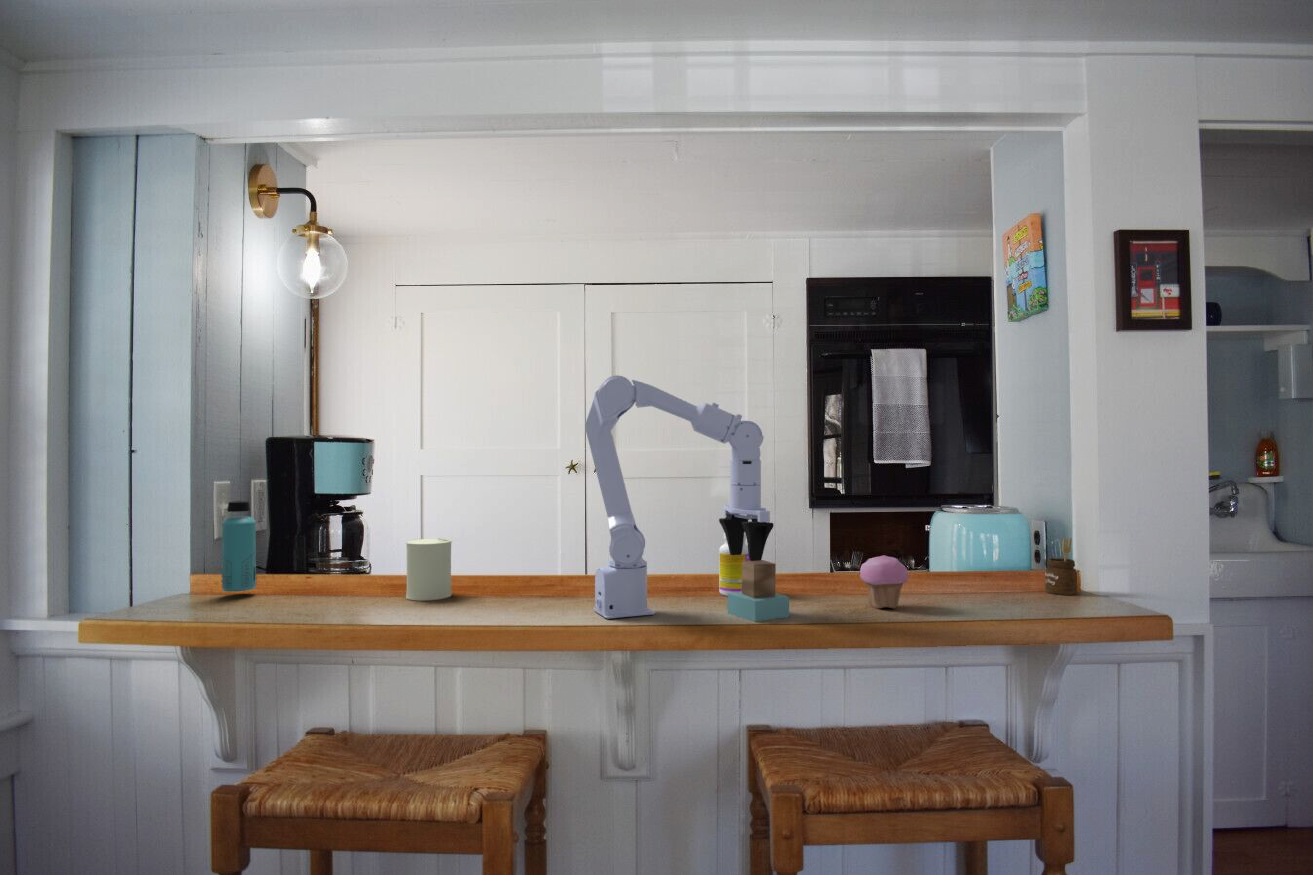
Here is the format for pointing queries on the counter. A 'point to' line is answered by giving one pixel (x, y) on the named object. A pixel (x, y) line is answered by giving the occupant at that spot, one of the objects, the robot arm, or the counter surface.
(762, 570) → the walnut block
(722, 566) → the supplement bottle
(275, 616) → the counter surface
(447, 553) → the can
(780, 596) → the teal base box
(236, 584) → the beverage bottle
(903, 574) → the cupcake
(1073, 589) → the utensil holder
